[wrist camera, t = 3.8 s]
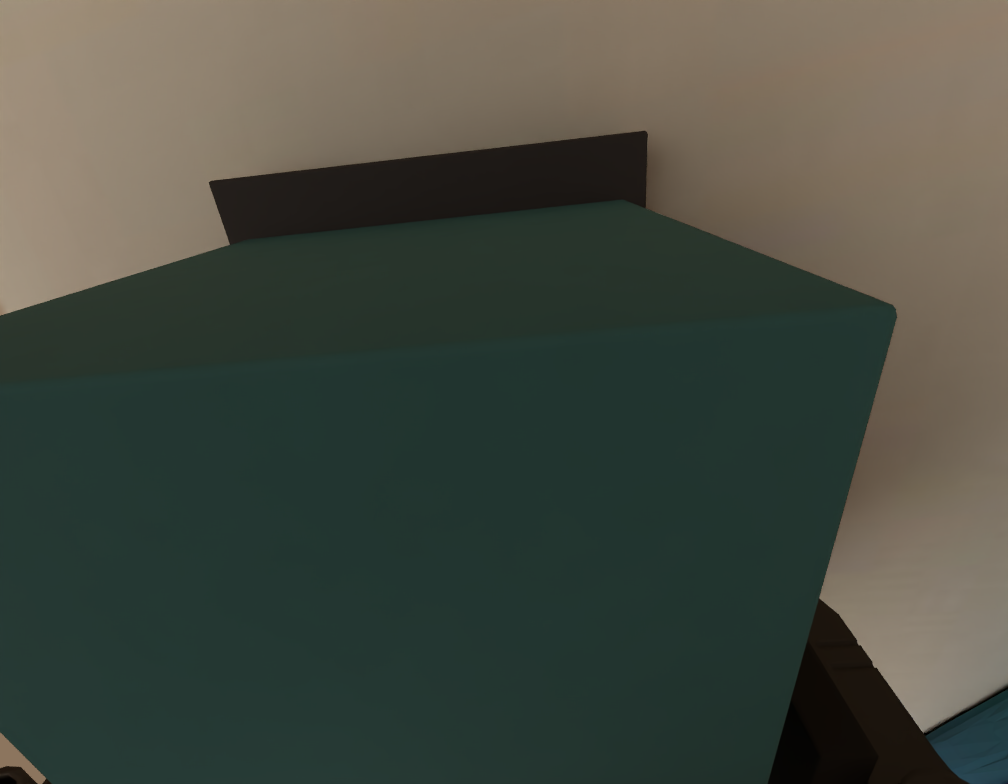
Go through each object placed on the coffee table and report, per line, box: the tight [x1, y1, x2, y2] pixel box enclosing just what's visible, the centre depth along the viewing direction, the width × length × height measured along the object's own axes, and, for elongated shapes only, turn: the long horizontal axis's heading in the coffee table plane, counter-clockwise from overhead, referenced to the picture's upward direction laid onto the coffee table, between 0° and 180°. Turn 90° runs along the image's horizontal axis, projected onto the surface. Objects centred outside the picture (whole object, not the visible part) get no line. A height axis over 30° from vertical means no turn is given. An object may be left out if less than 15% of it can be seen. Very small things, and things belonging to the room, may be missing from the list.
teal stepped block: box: [0, 131, 897, 784], centre depth 10 cm, size 18×8×8 cm, turn 6°
